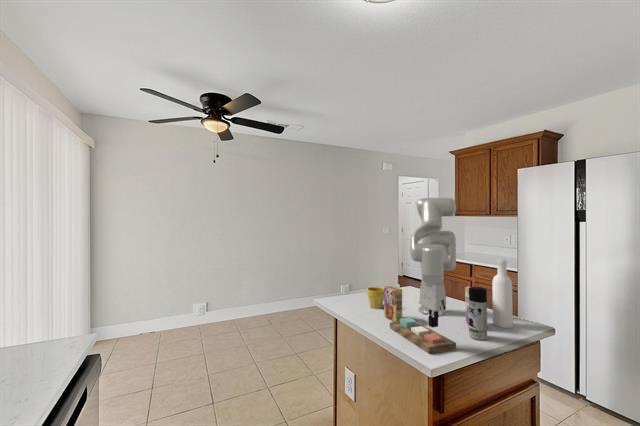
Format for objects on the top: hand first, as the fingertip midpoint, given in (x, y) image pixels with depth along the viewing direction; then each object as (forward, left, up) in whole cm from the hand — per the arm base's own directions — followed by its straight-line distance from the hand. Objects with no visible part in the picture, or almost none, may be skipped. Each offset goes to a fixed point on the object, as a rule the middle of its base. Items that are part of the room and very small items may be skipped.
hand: (433, 326), depth 112 cm
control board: (-7, -1, -7) cm, 10 cm away
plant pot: (-50, +3, -7) cm, 51 cm away
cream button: (-7, -1, -7) cm, 10 cm away
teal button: (-15, -1, -6) cm, 16 cm away
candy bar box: (-11, +31, -7) cm, 34 cm away
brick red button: (+1, -1, -7) cm, 7 cm away
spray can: (0, +22, -7) cm, 24 cm away
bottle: (-7, +44, -7) cm, 46 cm away
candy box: (-30, +1, -7) cm, 31 cm away
